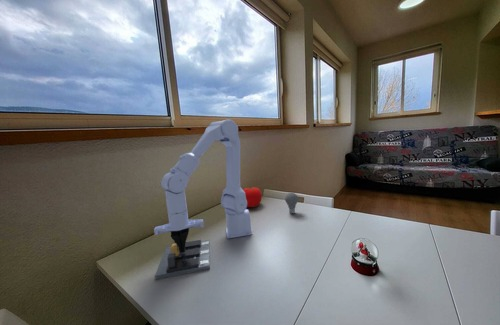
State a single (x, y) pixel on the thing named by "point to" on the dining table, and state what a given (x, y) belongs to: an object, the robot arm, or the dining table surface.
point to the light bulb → (291, 201)
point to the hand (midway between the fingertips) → (182, 250)
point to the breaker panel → (185, 260)
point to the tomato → (253, 196)
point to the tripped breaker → (175, 249)
